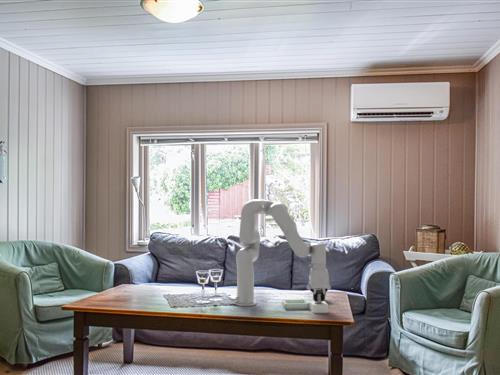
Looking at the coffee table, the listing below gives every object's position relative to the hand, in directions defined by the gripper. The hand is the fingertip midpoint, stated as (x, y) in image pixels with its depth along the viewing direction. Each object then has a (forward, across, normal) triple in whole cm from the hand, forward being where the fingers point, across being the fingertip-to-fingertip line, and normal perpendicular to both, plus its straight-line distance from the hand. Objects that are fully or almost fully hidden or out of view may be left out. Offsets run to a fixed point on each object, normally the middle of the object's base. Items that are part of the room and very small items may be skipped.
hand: (318, 300), depth 216 cm
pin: (+5, 0, 0) cm, 5 cm away
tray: (+5, -11, +8) cm, 15 cm away
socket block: (+5, 0, 0) cm, 5 cm away
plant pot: (+6, +6, +22) cm, 23 cm away
